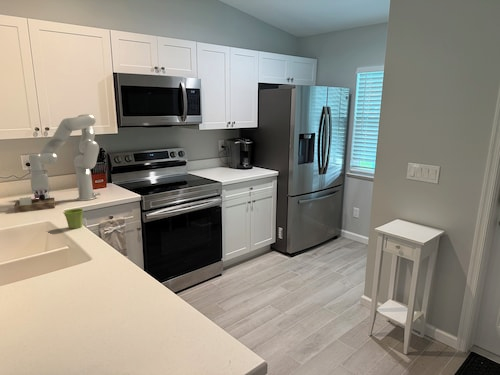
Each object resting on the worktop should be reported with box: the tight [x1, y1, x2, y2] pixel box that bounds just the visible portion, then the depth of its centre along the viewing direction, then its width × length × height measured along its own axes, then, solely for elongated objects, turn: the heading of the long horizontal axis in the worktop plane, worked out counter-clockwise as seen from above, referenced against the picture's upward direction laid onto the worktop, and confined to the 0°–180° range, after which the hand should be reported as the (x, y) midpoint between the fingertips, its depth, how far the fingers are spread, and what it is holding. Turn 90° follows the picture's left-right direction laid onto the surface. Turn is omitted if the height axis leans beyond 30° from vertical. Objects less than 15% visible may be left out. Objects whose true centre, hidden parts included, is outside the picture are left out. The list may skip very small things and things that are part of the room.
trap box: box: [14, 197, 56, 214], centre depth 223 cm, size 21×18×5 cm
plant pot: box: [62, 208, 84, 230], centre depth 175 cm, size 9×9×9 cm
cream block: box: [18, 196, 33, 206], centre depth 220 cm, size 6×5×4 cm
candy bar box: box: [33, 190, 51, 199], centre depth 250 cm, size 11×5×16 cm, turn 62°
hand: (42, 200), depth 225 cm, fingers closed
